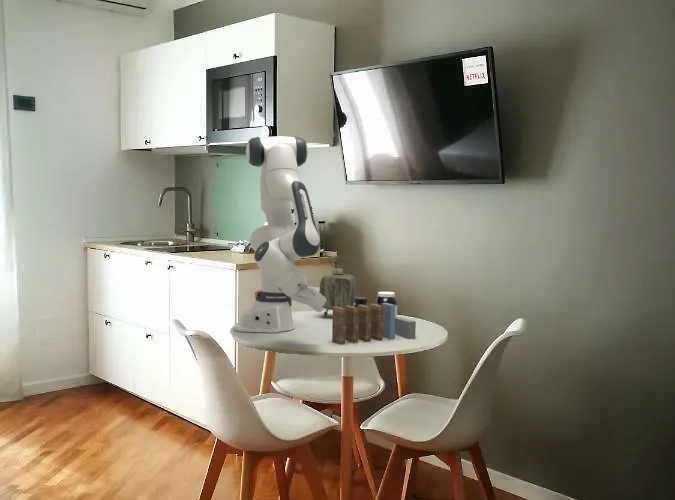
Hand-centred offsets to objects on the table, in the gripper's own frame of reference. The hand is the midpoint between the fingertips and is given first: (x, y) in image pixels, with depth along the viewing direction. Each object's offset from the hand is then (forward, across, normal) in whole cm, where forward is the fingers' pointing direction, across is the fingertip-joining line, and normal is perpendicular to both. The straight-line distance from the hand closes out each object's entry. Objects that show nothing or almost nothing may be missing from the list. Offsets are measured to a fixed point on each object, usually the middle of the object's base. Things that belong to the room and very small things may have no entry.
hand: (319, 310), depth 226 cm
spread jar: (+39, +30, -22) cm, 53 cm away
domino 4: (+24, +1, -8) cm, 25 cm away
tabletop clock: (+30, +44, -14) cm, 55 cm away
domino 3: (+21, +1, -4) cm, 21 cm away
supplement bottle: (+27, +17, -10) cm, 34 cm away
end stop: (+33, +1, -16) cm, 36 cm away
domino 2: (+17, +1, 0) cm, 17 cm away
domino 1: (+14, +1, +3) cm, 14 cm away
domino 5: (+28, +1, -11) cm, 30 cm away
